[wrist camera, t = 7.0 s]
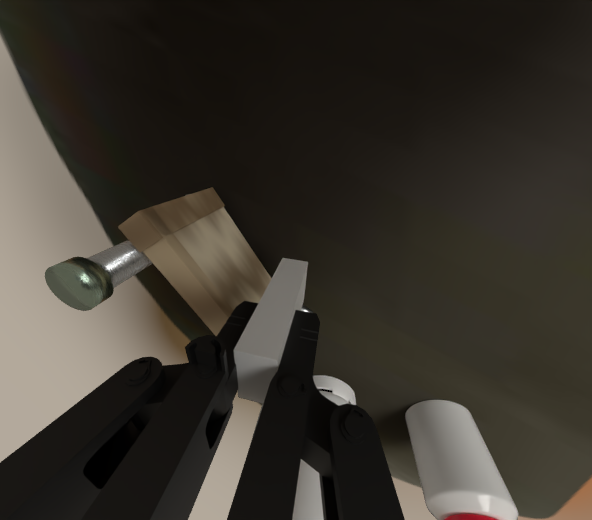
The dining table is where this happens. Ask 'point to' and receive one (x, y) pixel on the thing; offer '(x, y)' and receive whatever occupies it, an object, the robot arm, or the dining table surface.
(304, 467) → the bottle
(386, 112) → the dining table surface
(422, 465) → the pill bottle
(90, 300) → the latch post
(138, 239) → the gate
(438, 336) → the dining table surface
